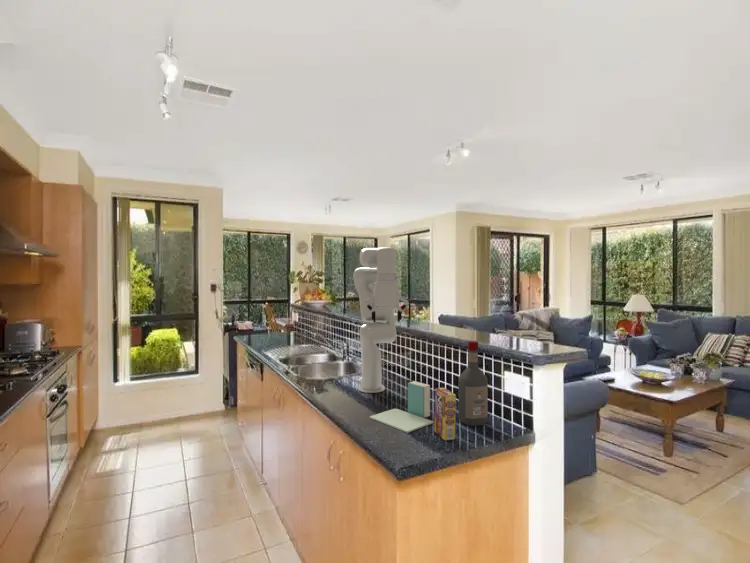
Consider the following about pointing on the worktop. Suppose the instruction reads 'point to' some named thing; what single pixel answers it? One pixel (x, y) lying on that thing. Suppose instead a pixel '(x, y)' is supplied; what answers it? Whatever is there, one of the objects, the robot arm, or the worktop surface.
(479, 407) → the liquor
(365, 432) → the worktop surface
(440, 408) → the candy box
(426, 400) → the tile
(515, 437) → the worktop surface
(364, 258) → the robot arm
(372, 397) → the worktop surface
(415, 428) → the mat
